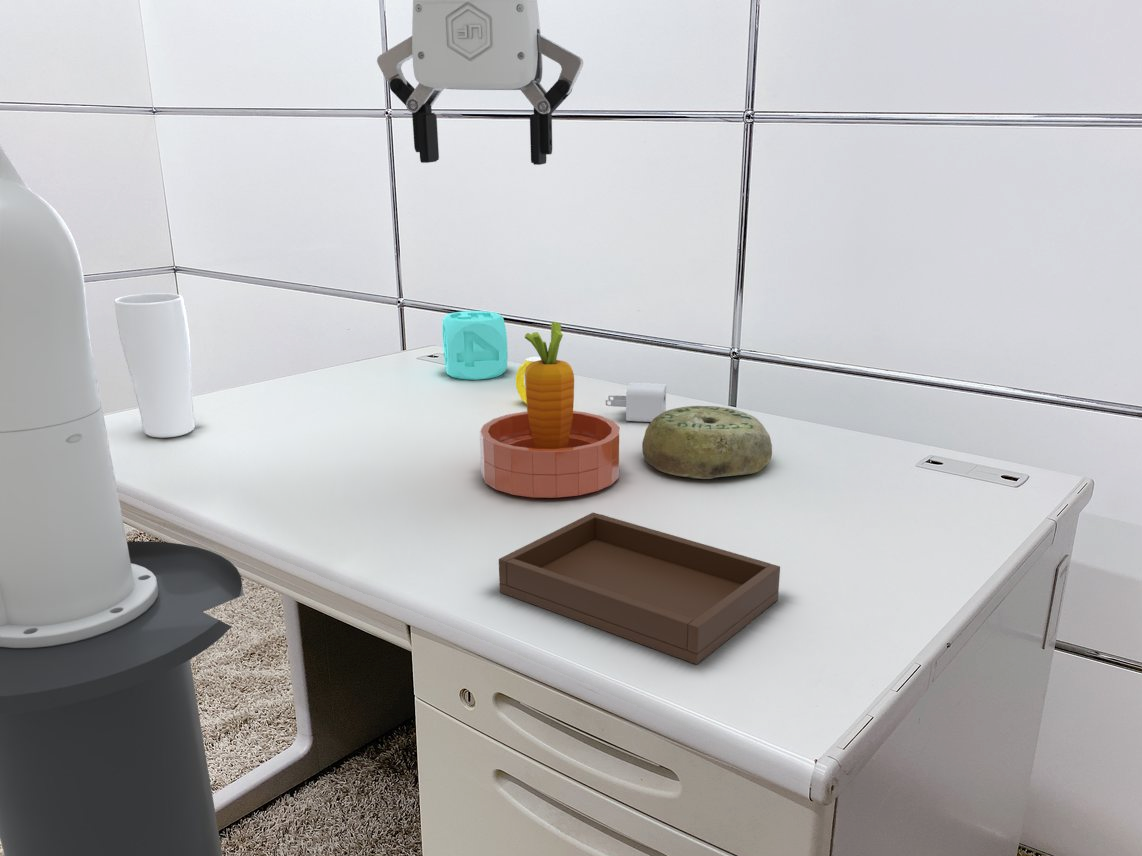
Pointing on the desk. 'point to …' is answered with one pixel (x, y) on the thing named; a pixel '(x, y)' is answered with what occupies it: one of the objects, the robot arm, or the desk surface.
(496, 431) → the bowl
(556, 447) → the carrot
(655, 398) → the usb wall charger
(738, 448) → the weight
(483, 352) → the decorative dice
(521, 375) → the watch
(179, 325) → the drinking glass
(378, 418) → the desk surface
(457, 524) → the desk surface
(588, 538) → the tray
